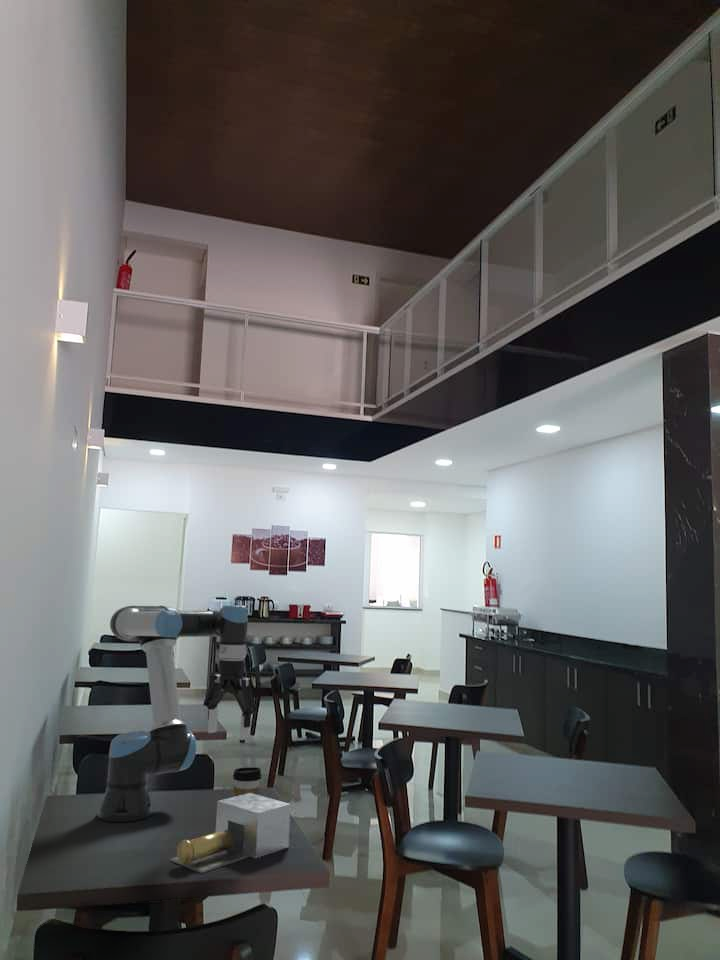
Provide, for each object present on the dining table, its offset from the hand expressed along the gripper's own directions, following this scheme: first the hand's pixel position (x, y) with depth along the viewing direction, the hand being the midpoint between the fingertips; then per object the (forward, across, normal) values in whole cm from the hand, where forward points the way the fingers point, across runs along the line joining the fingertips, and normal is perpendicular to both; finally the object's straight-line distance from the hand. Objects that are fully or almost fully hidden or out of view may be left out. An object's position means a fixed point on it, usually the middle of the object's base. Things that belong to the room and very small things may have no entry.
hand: (227, 735), depth 210 cm
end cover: (+26, +12, -16) cm, 33 cm away
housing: (+27, +12, -8) cm, 30 cm away
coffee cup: (+27, -5, +13) cm, 30 cm away
